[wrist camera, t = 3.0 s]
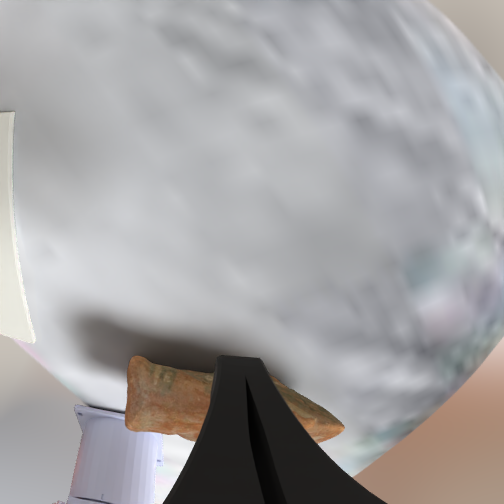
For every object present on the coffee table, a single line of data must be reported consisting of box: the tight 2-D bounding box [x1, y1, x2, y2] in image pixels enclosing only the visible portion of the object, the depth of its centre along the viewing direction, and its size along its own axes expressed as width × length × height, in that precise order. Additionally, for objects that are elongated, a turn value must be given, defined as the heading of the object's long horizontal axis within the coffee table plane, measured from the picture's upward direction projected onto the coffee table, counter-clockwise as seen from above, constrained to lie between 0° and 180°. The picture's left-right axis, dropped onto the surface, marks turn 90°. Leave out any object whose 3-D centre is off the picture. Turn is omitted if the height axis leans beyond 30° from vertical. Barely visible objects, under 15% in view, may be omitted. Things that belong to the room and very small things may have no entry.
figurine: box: [125, 356, 345, 444], centre depth 19 cm, size 8×8×15 cm
